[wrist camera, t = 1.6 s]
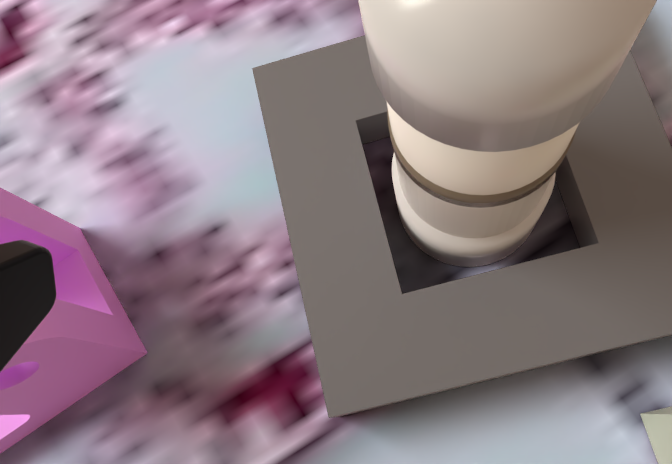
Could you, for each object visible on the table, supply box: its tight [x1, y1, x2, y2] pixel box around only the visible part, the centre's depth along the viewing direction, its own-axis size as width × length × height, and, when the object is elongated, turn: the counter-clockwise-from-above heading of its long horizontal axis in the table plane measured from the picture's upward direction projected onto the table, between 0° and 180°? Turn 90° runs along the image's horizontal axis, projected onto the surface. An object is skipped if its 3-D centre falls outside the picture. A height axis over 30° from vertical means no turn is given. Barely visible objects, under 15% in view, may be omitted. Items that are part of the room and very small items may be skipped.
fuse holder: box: [252, 35, 672, 418], centre depth 21 cm, size 12×12×2 cm
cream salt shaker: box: [358, 0, 657, 267], centre depth 16 cm, size 5×5×13 cm
